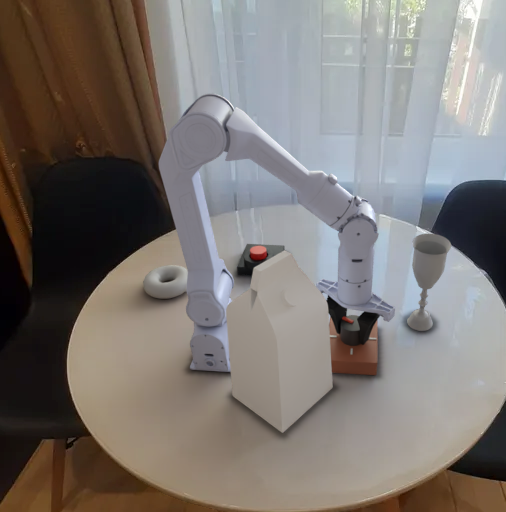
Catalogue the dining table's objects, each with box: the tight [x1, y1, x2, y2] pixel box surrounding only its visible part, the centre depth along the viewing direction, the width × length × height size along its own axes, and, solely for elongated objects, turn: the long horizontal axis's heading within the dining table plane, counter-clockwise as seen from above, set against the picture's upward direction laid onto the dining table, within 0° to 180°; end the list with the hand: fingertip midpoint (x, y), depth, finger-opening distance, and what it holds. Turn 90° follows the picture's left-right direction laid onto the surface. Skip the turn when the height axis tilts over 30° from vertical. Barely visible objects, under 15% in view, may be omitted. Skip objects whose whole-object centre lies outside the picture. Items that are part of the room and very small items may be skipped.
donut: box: [142, 264, 188, 300], centre depth 103 cm, size 10×4×10 cm
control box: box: [236, 243, 286, 277], centre depth 110 cm, size 11×9×4 cm
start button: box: [250, 246, 267, 260], centre depth 107 cm, size 4×4×2 cm
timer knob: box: [340, 314, 360, 346], centre depth 86 cm, size 4×4×4 cm
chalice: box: [406, 233, 452, 332], centre depth 90 cm, size 7×7×18 cm
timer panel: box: [329, 315, 379, 376], centre depth 88 cm, size 12×9×3 cm
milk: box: [226, 249, 333, 434], centre depth 73 cm, size 12×12×26 cm
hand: (352, 335), depth 87 cm, fingers closed on timer knob, 4 cm apart
